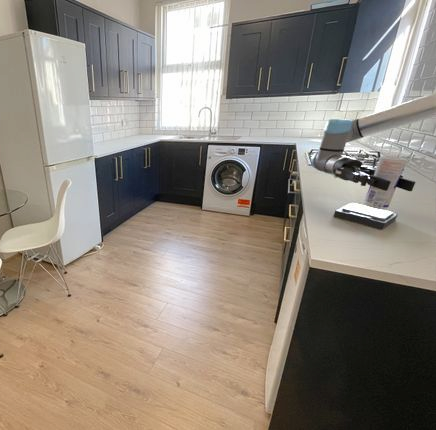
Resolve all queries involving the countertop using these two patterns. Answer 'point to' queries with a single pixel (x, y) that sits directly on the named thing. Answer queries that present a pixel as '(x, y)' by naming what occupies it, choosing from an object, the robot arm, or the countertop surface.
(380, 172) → the beverage can
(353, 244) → the countertop surface
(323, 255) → the countertop surface
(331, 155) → the robot arm
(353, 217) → the scale
